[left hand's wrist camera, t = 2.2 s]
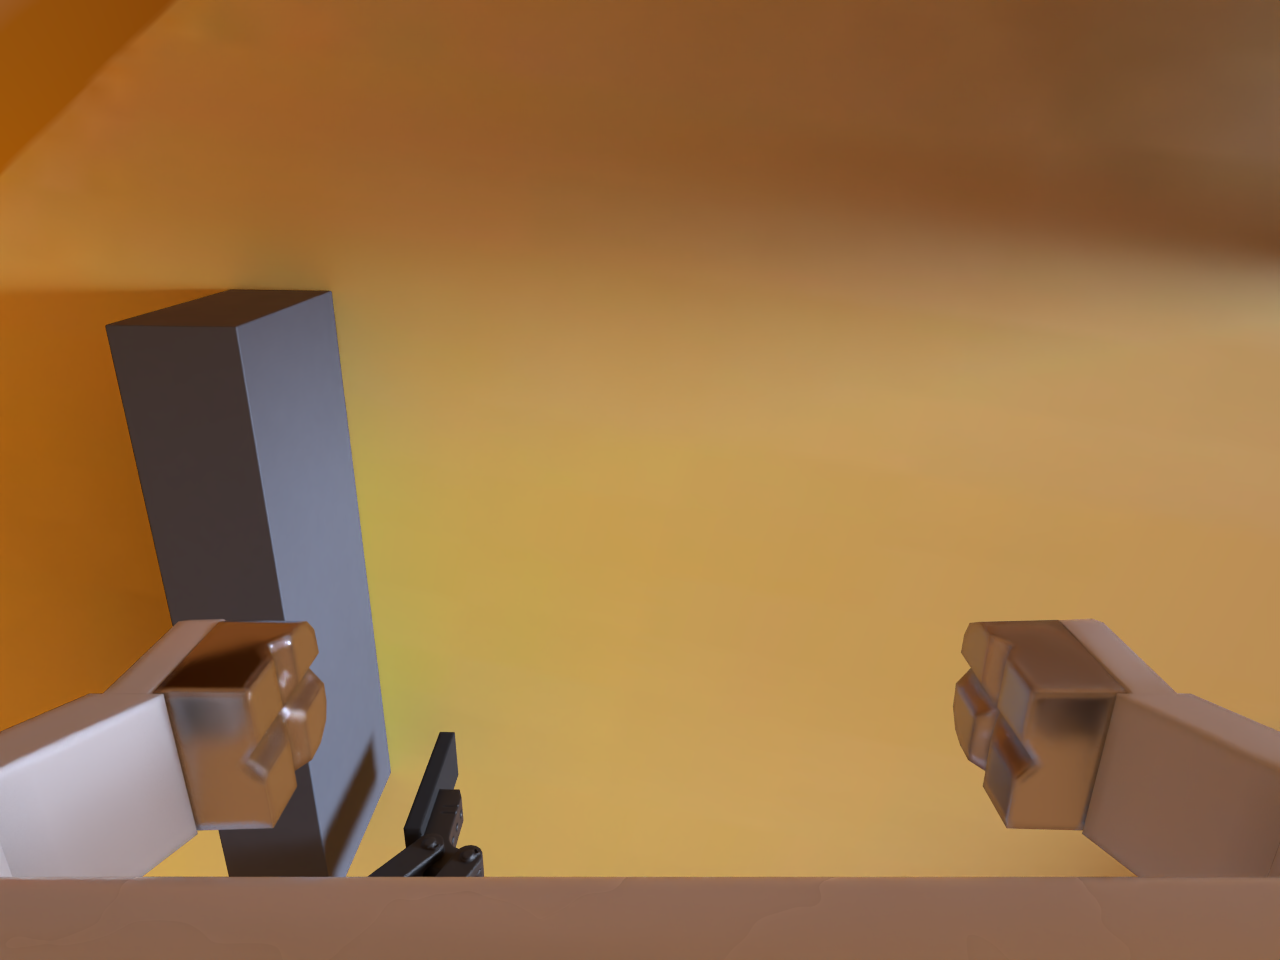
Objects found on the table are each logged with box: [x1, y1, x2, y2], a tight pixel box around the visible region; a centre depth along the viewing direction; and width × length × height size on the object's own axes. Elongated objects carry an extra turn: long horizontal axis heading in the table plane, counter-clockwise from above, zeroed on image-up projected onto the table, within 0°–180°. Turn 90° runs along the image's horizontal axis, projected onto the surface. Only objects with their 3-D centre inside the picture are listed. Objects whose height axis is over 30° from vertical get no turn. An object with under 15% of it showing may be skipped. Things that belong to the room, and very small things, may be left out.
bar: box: [105, 290, 391, 877], centre depth 37 cm, size 27×5×9 cm, turn 179°
